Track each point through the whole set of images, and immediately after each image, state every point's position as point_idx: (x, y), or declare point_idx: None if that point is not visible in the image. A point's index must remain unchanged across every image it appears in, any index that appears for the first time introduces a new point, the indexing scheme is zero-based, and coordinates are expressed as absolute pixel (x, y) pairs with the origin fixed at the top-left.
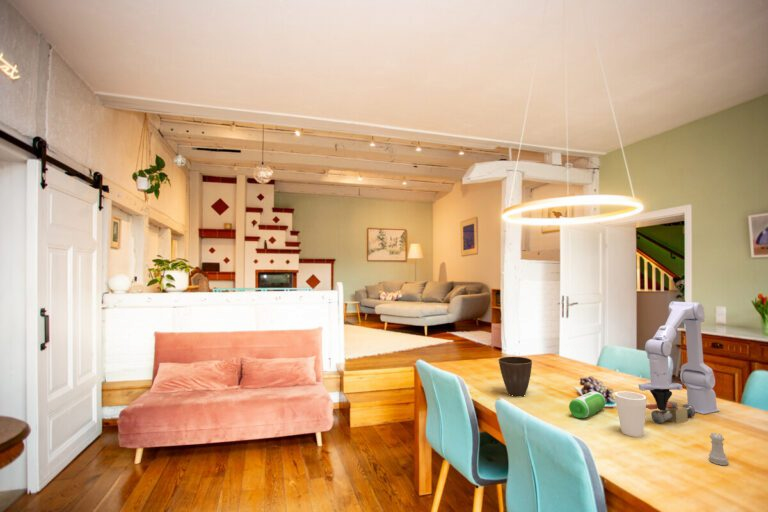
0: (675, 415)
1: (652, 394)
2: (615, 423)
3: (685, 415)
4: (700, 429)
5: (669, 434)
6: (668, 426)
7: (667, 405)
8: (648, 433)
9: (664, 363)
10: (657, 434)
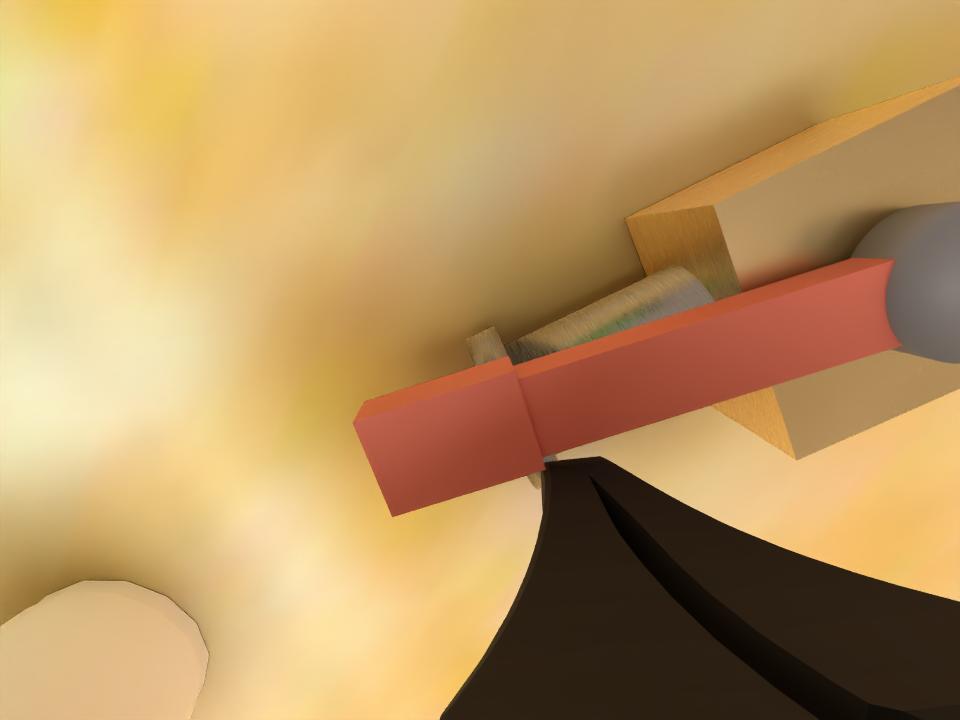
0: (742, 420)
1: (502, 641)
2: (8, 428)
3: None
4: (808, 521)
5: (447, 649)
6: None
7: (781, 374)
8: (268, 646)
9: None
10: (340, 658)
